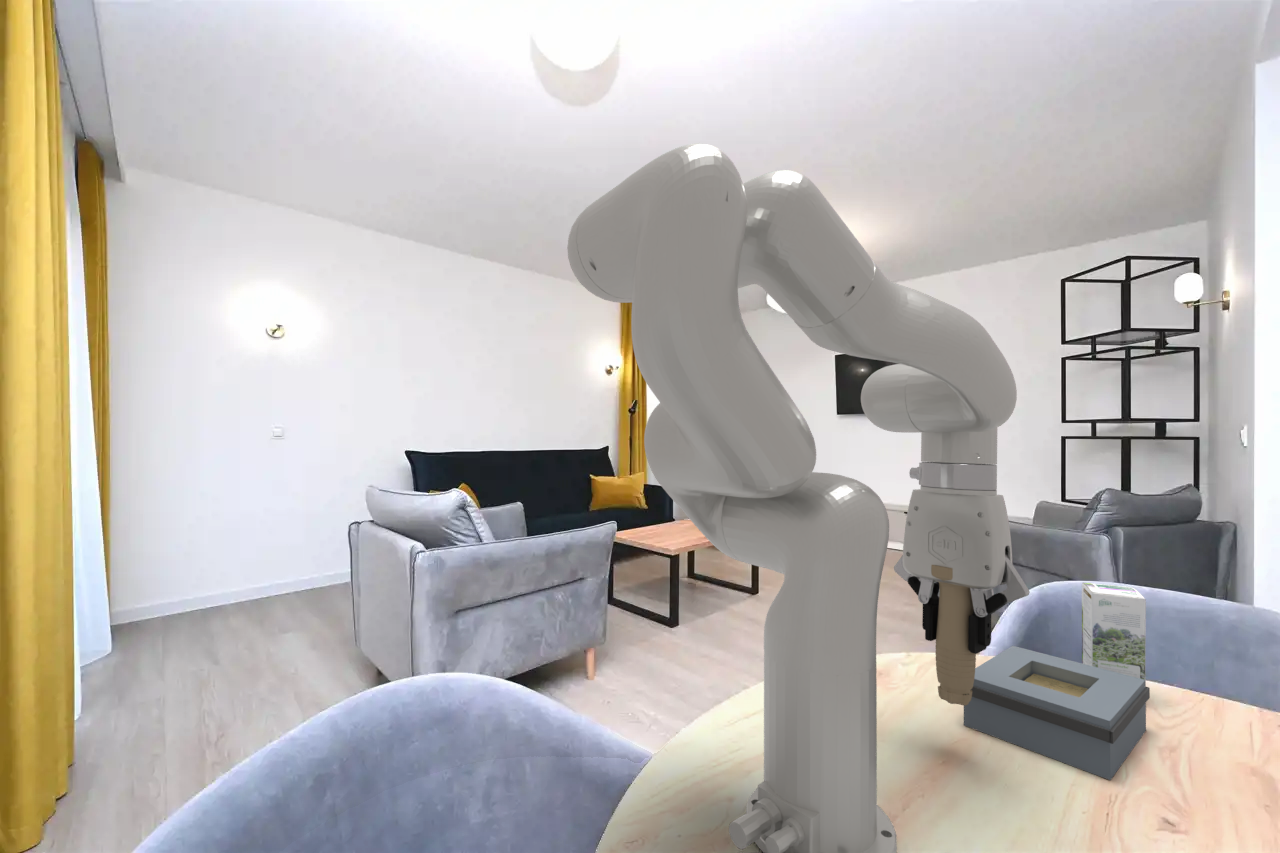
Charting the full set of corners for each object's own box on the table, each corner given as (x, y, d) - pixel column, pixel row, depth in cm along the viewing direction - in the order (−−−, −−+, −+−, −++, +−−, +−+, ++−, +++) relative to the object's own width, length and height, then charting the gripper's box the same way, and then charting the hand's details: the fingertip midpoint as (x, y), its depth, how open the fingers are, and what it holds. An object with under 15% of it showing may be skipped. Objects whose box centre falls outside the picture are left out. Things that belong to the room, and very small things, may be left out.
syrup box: (1132, 690, 79) (1131, 585, 79) (1147, 708, 73) (1146, 595, 74) (1081, 681, 81) (1080, 580, 82) (1092, 698, 76) (1091, 590, 76)
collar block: (1113, 782, 57) (1112, 723, 58) (960, 724, 69) (959, 675, 69) (1149, 730, 68) (1149, 679, 68) (1011, 687, 79) (1011, 644, 79)
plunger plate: (1077, 718, 64) (1077, 709, 64) (1012, 697, 69) (1012, 689, 69) (1095, 699, 68) (1095, 691, 68) (1033, 681, 73) (1033, 673, 73)
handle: (996, 707, 62) (998, 568, 62) (948, 713, 60) (950, 569, 60) (960, 688, 66) (961, 559, 67) (914, 693, 64) (916, 560, 65)
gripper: (870, 475, 68) (867, 629, 67) (1032, 486, 55) (1030, 677, 54) (901, 475, 73) (898, 619, 72) (1057, 484, 60) (1056, 661, 59)
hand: (955, 642), depth 63 cm, fingers closed on handle, 3 cm apart
